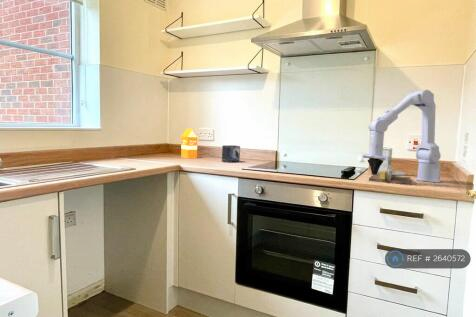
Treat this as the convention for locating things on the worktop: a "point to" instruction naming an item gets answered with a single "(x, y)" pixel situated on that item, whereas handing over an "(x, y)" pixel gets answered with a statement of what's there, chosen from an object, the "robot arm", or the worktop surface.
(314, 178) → the worktop surface
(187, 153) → the orange juice
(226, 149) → the small box
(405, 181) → the post board
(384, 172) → the small silver pan
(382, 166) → the syrup box
